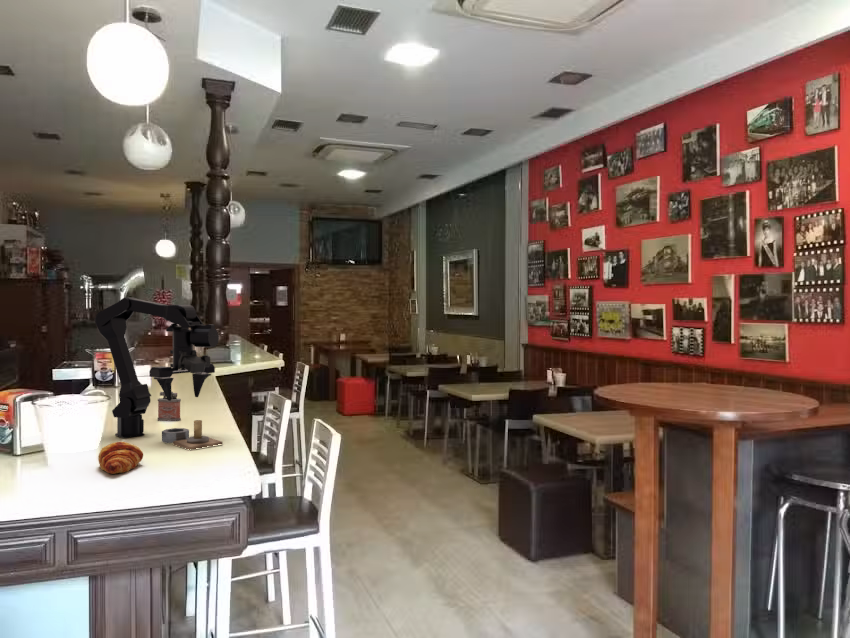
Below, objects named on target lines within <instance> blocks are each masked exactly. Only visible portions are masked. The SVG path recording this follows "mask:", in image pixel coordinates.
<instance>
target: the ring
mask: <svg viewBox="0 0 850 638" xmlns="http://www.w3.org/2000/svg"><path fill="white" fill-rule="evenodd" d="M189 437H190V429H188V428H184V427H174V428H173V427H172V428H166V429H164V430H162V431H161V442H162V443H164V444H173V441H179V440H185V439H187V438H189Z"/></svg>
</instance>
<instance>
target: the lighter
mask: <svg viewBox="0 0 850 638" xmlns="http://www.w3.org/2000/svg"><path fill="white" fill-rule="evenodd" d="M171 395H172V396H171V401H168V400H167V398H166V396H165V394H164V391H160V392H159V396H160V397H161V396H162V397H161V398H157V422H159V421H160V422H181V421H182V419H181V401H182V399H181V398H178V392H173V391H172V390H171Z"/></svg>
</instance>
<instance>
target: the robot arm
mask: <svg viewBox="0 0 850 638" xmlns="http://www.w3.org/2000/svg"><path fill="white" fill-rule="evenodd" d="M134 312H135V313H140V314H145V315H150V316H155V317H160V318H162V319H163V320H165V321H167V322H169V323H171V324H170V326H169V327H167V328H166V329H165V331H166V332H169V333H171V332H172V349H171V350H170V351H169V352H170V354H171V355H172V363H170V364H169V365H170V366H163V365H162V366H161V365H160V366H152V367H151V368H150V369H149V371H148V372H149V377H150V378H153V380H156V381H157V383H158V384H159V387H161V389H162V392H164V394H165V396H166V398H167V400H168V401H171V396H172V395H171V391H172V382H173V380H174V377H172V376H173V375H178V374H189V373H190V374H191V375H192V376H191V377H192V384H193V385H192V386H193V392H194V397H195V398H199V395H200V393H201V391H202V388H203V385H204V383H205V381H206V379H207V378H208V377H211V376H212V373H213V374H214V373H216V367H215V365H214V363H212V362H211V356H209V355H208V354H207V355H202V356H198V355H197V354H198V353H197V350H196V349H194V347H195V348H215V347H216V346H217V345H218V343H219V339H220V336H219V333H218V331H217V329H216V327H215V326H216V325H215V324H213V323H212V324H210V323H209V324H204V323H203V321H202V320H201V318H200V317H199V315H198V314H197V310H196V309H195V307H194V306H193V305H192V304H165V303H160V302H154V301H150V300H144V299H140V298H136V297H122V298H120V300H118V301H116V303H113V304H112V305H110V306H108V307H106V308H105V309H104V310H100V311H99V312H97V314H96V316H95V317H94V323H95V326H96V327H97V330H98V332H99V334H100V335H101V336H102V337H103V338H104V339H105V340H106V342H107V344H108V347H109V351H110V353H111V357H112V360H113V362H114V363H113V364H114V366H115V370H116V373H117V376H118V380H119V383H120V389H119V391H118V392H119V393H118V400H119V403H118V404H117V405H116V406H115V407H114V408H113V409H112V411H111V412H112V416H113V418H115V419H117V421H116V423H117V424H116V425H117V426H116V427H117V430H116V431H117V432H116V433H114V436H116V437H119V438H122V439H125V438H126V439H127V438H134V437H142V436H145V433H144V430H145V429H144V426H145V424H144V423H145V421H144V419H143V415H144V414H146V412H147V410H148V407H149V406H150V403H151V397H152V394H151V393H150V390H149V386H148V385H149V384H148V383H142V382H141V381H140V380H139V379H138V376H137V373H136V369H135V365H134V362H133V359H132V356H131V353H130V350H129V347H128V343H127V341H126V337H125V336H126V332H127V329H128V327H127V321H128V320H130V319H131V317H132V316H133V314H134Z"/></svg>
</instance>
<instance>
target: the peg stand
mask: <svg viewBox="0 0 850 638" xmlns="http://www.w3.org/2000/svg"><path fill="white" fill-rule="evenodd" d="M172 444H174V445H173V446H175V445H177V446H176V447H178V446H180V447H179V448H181V447H183V448H182V449H184V448H186V449H189V450H190V449H196V448H202V447H207V446H213V445H218V444H223V441H222V440H218V439H216V438H215V439H214V438H212V437H209V436H208V435H207V436H206V435H203V420H202V419H196V420H194V421H193V436H189V438H187V439H185V440H179V441H173V443H172ZM223 445H224V444H223ZM186 449H185V450H186ZM202 449H203V448H202ZM189 450H188V451H189ZM196 450H197V449H196ZM190 451H191V450H190Z"/></svg>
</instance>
